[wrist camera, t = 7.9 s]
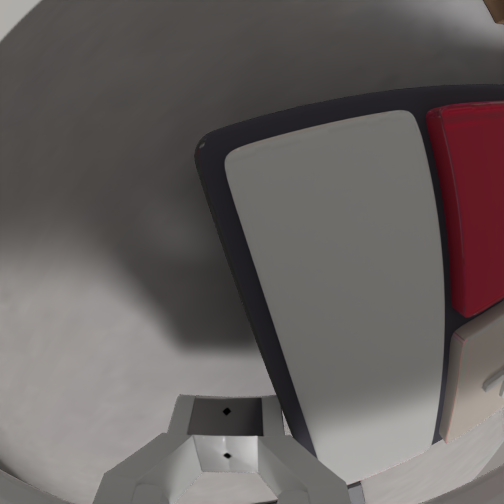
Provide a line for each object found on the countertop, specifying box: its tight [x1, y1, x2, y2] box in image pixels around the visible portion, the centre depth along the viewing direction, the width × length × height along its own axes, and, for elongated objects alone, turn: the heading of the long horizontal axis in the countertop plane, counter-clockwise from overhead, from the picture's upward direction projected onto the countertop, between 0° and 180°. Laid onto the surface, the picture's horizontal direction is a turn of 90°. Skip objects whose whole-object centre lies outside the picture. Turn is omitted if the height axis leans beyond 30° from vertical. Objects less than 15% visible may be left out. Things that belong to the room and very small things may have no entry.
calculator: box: [195, 84, 504, 485], centre depth 7 cm, size 11×4×15 cm
